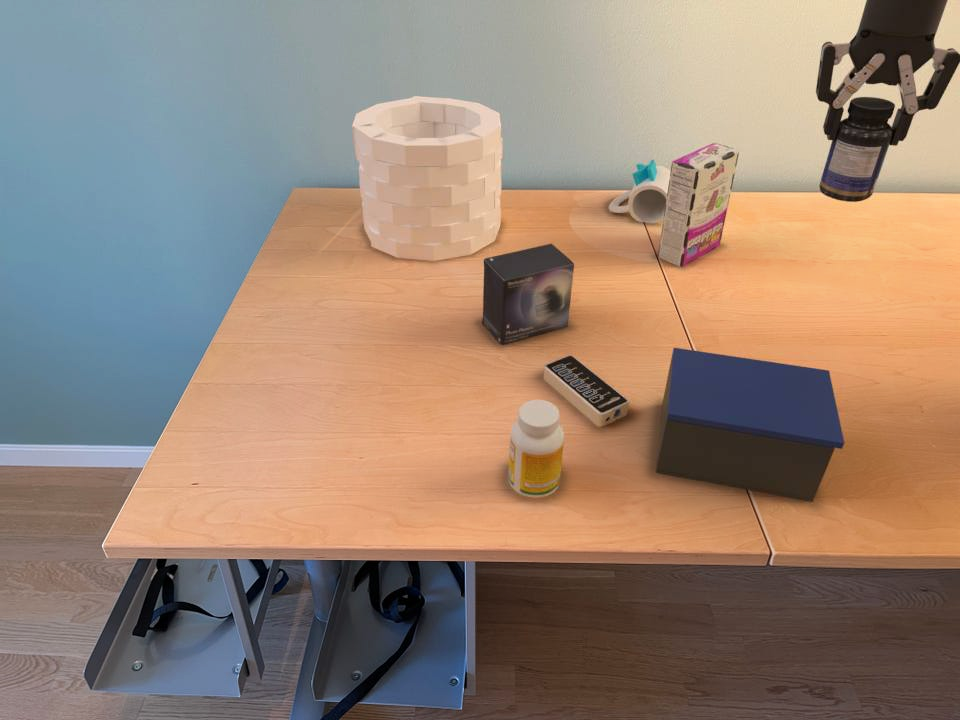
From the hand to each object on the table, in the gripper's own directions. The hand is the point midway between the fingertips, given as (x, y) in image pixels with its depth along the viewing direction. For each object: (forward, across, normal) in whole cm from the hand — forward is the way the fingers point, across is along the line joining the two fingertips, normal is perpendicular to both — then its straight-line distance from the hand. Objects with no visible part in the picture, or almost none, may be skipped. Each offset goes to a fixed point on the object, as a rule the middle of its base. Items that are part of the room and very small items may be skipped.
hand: (861, 140), depth 83 cm
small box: (+25, -37, -13) cm, 47 cm away
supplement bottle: (+25, -30, -40) cm, 56 cm away
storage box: (+25, -10, -30) cm, 41 cm away
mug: (+25, -26, +31) cm, 47 cm away
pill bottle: (+7, 0, 0) cm, 7 cm away
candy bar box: (+26, -17, +16) cm, 34 cm away
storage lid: (+17, -9, -30) cm, 36 cm away
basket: (+25, -60, +13) cm, 66 cm away
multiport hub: (+25, -27, -26) cm, 45 cm away
